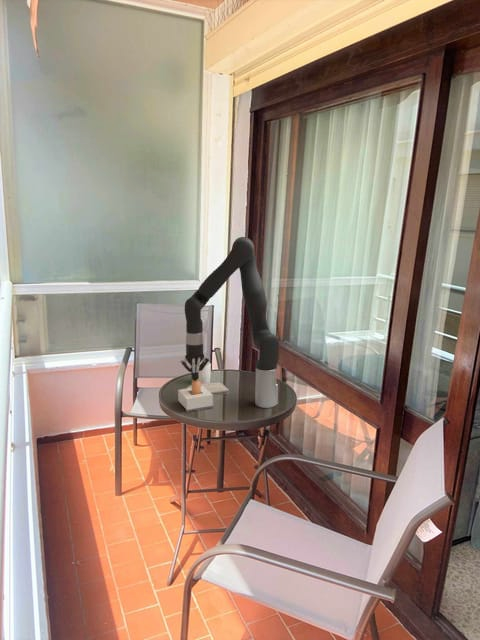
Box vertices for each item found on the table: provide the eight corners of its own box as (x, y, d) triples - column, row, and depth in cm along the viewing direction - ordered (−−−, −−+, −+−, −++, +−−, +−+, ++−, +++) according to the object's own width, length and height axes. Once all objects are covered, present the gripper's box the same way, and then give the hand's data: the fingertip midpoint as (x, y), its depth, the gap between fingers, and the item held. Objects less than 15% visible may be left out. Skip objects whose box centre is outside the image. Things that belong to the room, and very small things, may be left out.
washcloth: (230, 394, 230) (230, 388, 229) (194, 400, 223) (194, 393, 222) (221, 386, 241) (221, 380, 240) (186, 391, 233) (186, 385, 233)
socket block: (203, 398, 224) (203, 385, 222) (212, 407, 213) (212, 394, 212) (178, 402, 219) (178, 389, 217) (187, 412, 208) (186, 399, 207)
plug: (198, 400, 218) (198, 379, 216) (201, 403, 215) (202, 382, 212) (190, 401, 216) (190, 380, 214) (193, 404, 213) (193, 383, 211)
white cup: (193, 381, 246) (193, 362, 243) (208, 379, 248) (208, 361, 246) (198, 386, 238) (197, 367, 236) (213, 384, 241) (213, 365, 239)
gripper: (205, 338, 215) (205, 375, 219) (177, 341, 210) (177, 379, 214) (212, 342, 209) (212, 380, 213) (182, 345, 203) (183, 384, 207)
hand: (194, 380), depth 213 cm, fingers closed
